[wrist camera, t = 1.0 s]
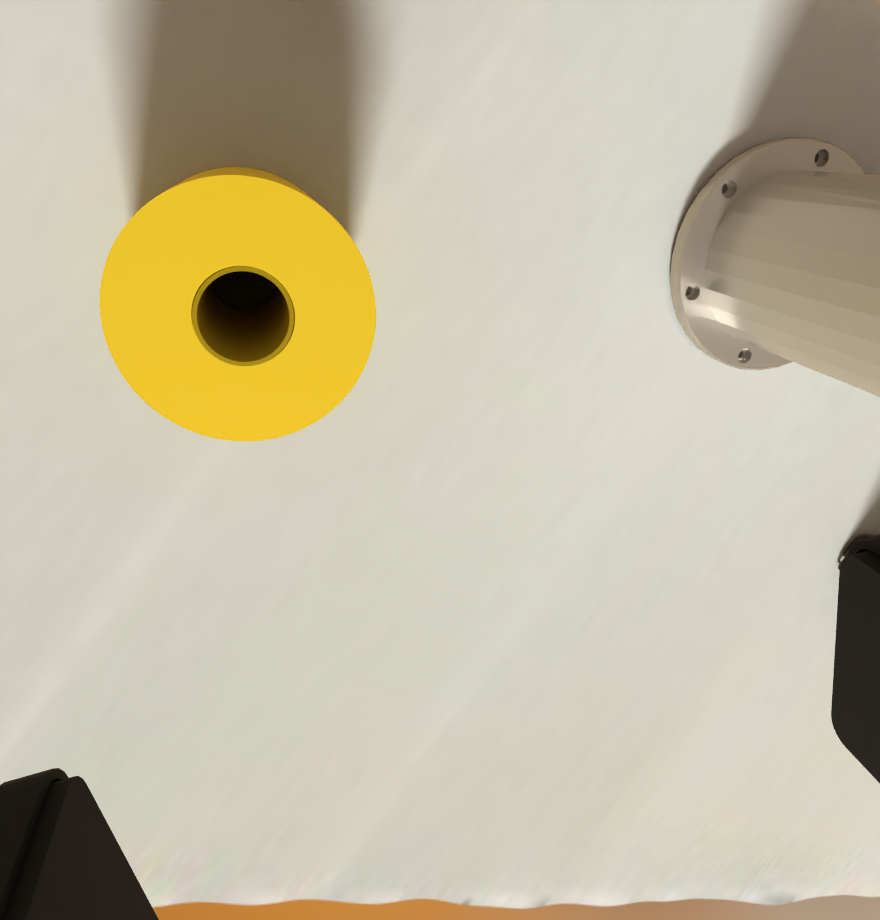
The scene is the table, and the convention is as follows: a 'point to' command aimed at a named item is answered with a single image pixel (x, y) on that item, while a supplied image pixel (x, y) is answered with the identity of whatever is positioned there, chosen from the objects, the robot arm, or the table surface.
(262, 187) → the tape roll
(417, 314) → the table surface
